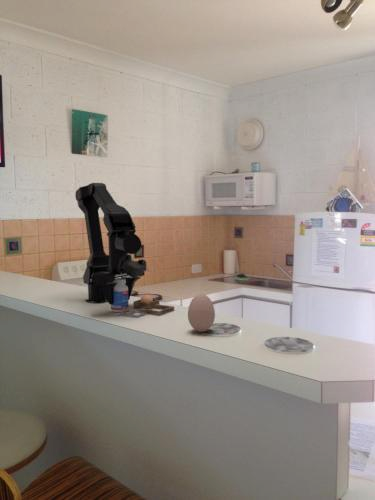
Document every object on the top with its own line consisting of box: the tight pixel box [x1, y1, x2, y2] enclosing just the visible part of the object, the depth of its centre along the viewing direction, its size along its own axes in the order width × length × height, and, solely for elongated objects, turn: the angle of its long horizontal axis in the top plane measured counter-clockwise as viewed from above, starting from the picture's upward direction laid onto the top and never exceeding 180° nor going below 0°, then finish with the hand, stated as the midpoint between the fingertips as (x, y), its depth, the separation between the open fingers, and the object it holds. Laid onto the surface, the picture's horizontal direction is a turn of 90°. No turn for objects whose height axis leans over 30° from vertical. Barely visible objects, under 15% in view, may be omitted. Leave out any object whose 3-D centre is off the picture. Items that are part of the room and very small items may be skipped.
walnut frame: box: [133, 298, 160, 310], centre depth 145 cm, size 6×6×2 cm
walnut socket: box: [138, 304, 175, 317], centre depth 140 cm, size 8×8×1 cm
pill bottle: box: [110, 277, 130, 313], centre depth 142 cm, size 6×5×10 cm
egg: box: [187, 293, 216, 333], centre depth 116 cm, size 7×7×10 cm
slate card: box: [118, 310, 148, 318], centre depth 136 cm, size 7×5×1 cm
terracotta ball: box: [139, 294, 154, 303], centre depth 145 cm, size 4×4×4 cm
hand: (119, 302), depth 142 cm, fingers open, 7 cm apart
